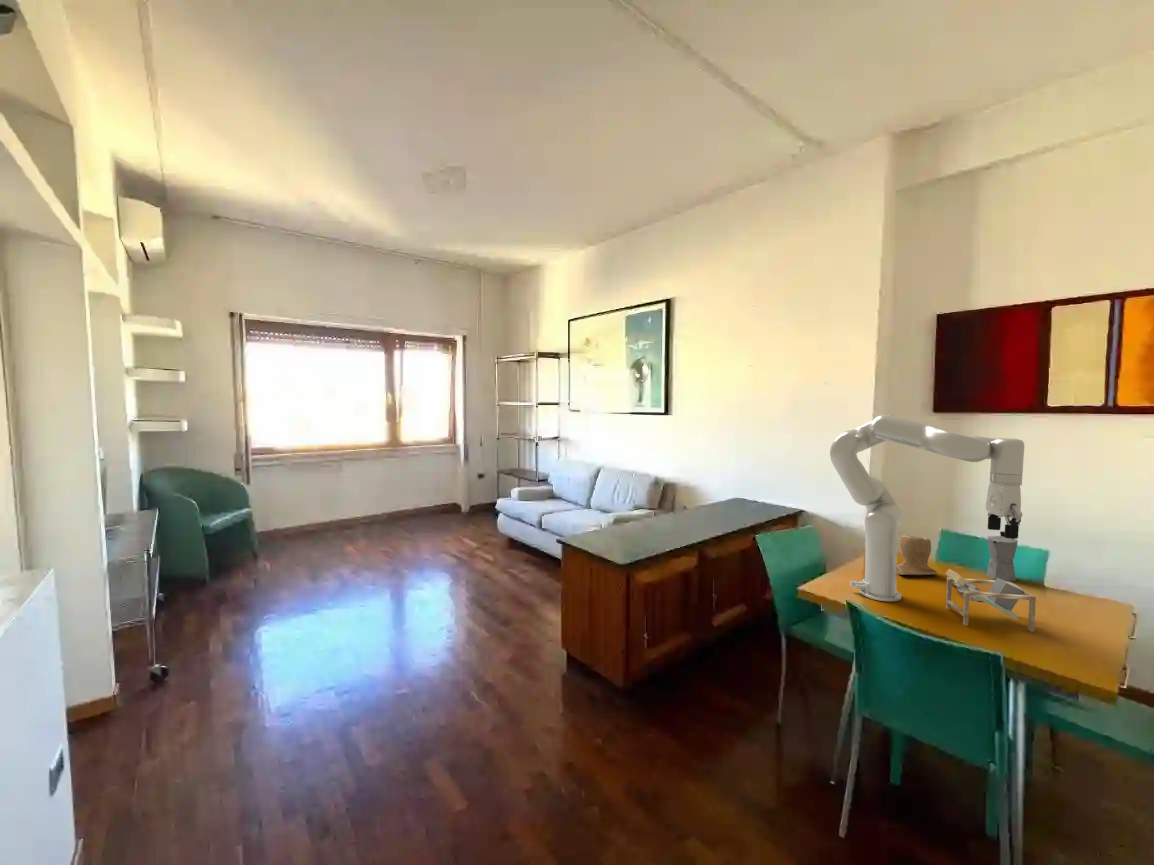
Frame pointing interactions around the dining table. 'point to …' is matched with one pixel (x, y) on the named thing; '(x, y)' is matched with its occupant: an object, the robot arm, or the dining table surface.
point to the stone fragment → (964, 590)
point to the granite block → (1004, 588)
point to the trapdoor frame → (965, 610)
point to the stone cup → (915, 556)
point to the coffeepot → (1001, 557)
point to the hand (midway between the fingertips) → (1002, 533)
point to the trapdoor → (962, 584)
